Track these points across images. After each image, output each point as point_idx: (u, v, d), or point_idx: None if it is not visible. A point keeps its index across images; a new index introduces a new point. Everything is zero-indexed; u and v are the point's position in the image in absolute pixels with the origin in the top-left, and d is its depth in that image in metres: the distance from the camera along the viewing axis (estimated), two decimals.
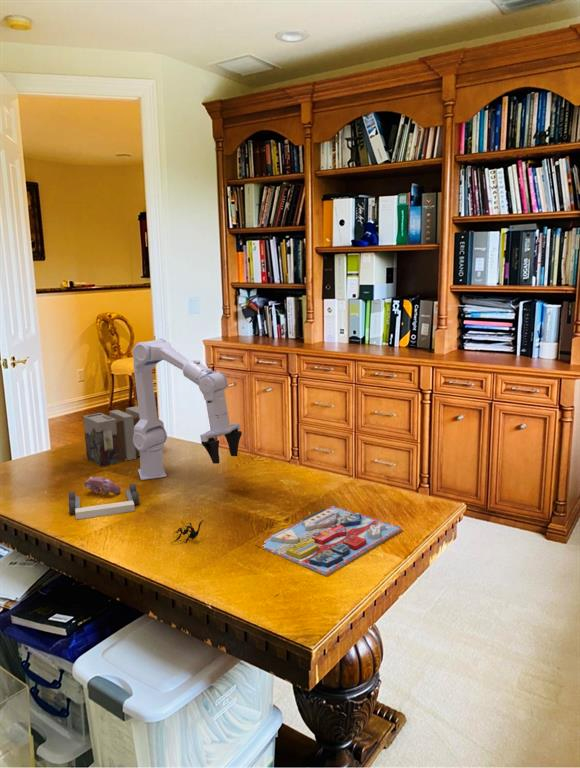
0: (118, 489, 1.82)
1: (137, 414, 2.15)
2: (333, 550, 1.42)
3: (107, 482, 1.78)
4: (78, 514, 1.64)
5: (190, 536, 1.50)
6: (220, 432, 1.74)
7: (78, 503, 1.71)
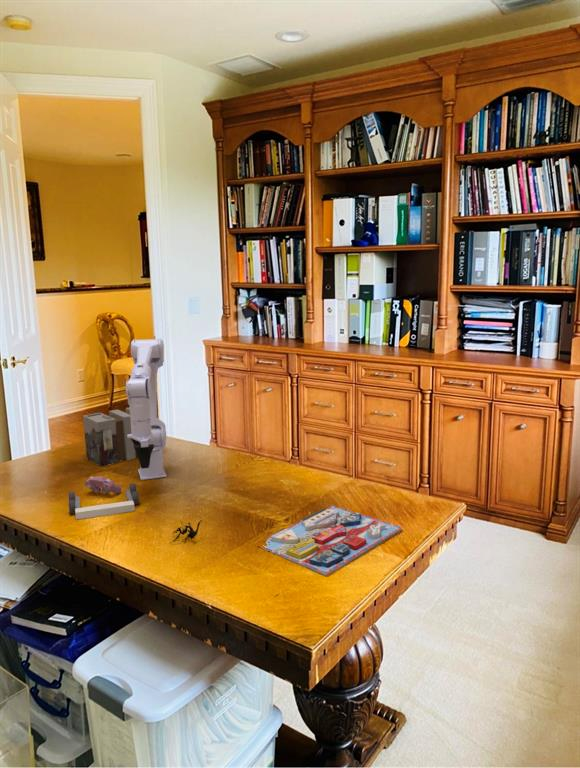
0: (119, 489, 1.82)
1: None
2: (333, 550, 1.42)
3: (108, 482, 1.79)
4: (78, 514, 1.64)
5: (189, 536, 1.50)
6: None
7: (78, 503, 1.71)
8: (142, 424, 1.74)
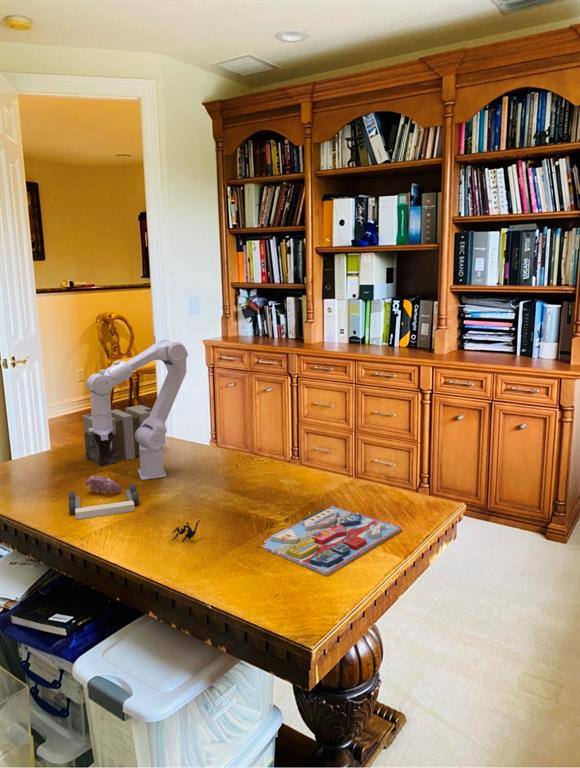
0: (120, 488, 1.82)
1: (136, 414, 2.16)
2: (333, 550, 1.42)
3: (108, 481, 1.79)
4: (78, 514, 1.64)
5: (187, 536, 1.50)
6: None
7: (78, 503, 1.71)
8: (102, 418, 1.81)
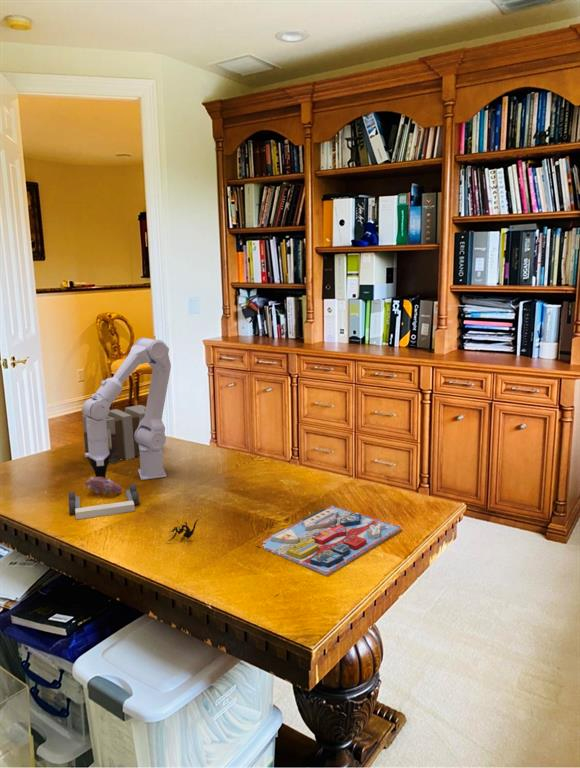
0: (120, 489, 1.81)
1: (136, 413, 2.16)
2: (333, 550, 1.42)
3: (109, 482, 1.78)
4: (78, 514, 1.64)
5: (185, 535, 1.50)
6: None
7: (78, 503, 1.71)
8: (98, 443, 1.80)
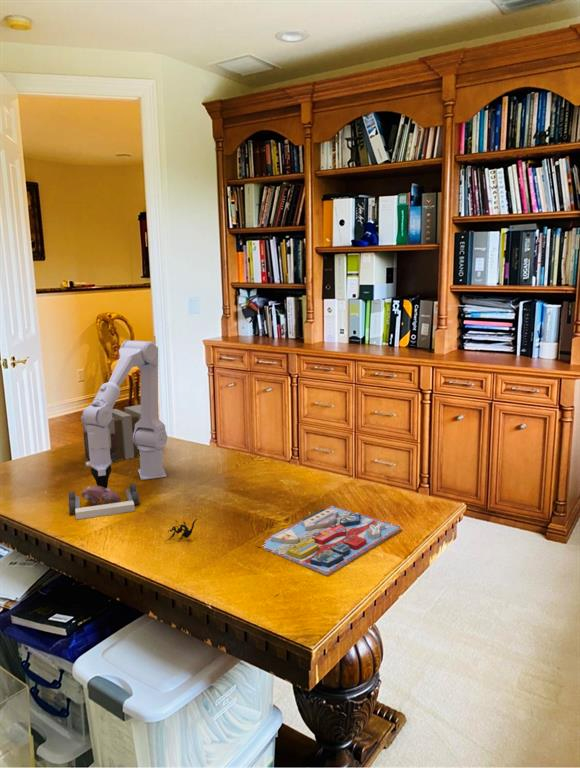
0: (118, 498, 1.75)
1: (135, 413, 2.16)
2: (333, 550, 1.42)
3: (108, 491, 1.71)
4: (78, 514, 1.64)
5: (183, 535, 1.51)
6: None
7: (78, 503, 1.71)
8: (100, 452, 1.72)
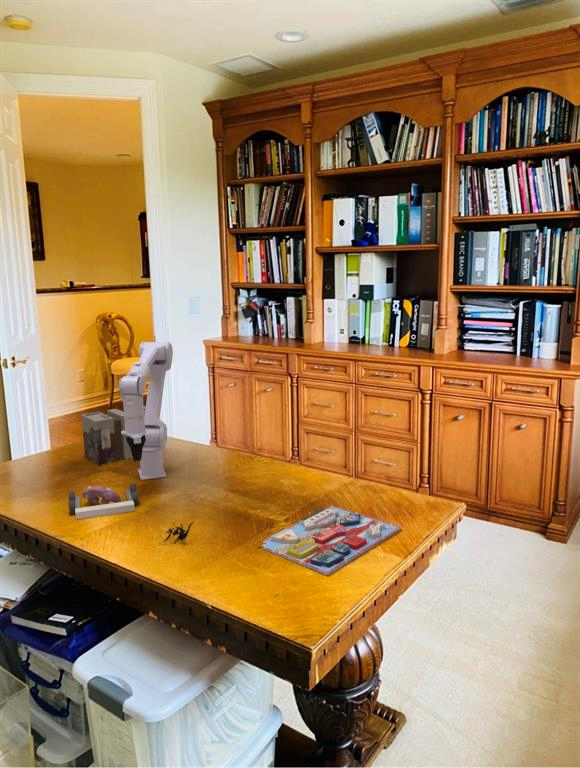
0: (119, 497, 1.75)
1: None
2: (334, 550, 1.42)
3: (108, 491, 1.72)
4: (78, 514, 1.64)
5: (179, 537, 1.49)
6: None
7: (78, 503, 1.71)
8: (135, 421, 1.78)
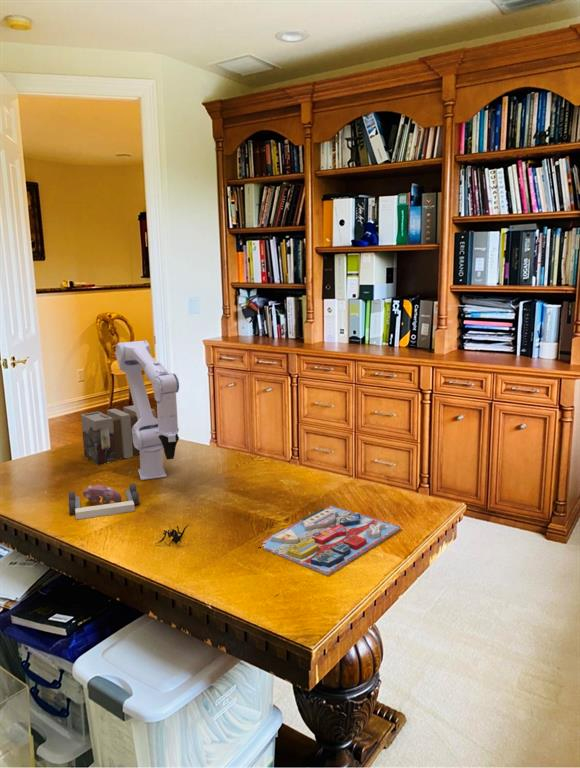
0: (120, 497, 1.76)
1: (134, 413, 2.17)
2: (334, 550, 1.42)
3: (109, 490, 1.72)
4: (78, 514, 1.64)
5: (173, 540, 1.48)
6: None
7: (78, 503, 1.71)
8: (169, 419, 1.79)
